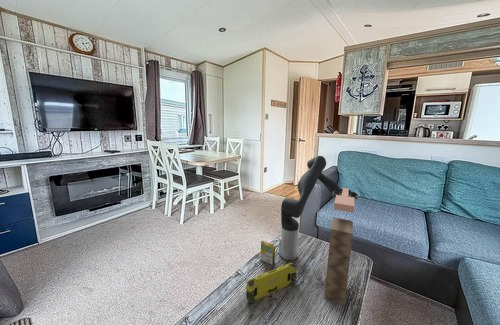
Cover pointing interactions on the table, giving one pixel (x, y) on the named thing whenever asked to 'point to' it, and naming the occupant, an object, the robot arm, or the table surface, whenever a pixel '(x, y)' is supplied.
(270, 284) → the gaming console
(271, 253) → the crayon box
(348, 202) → the paddle
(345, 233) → the wooden block
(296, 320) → the table surface
